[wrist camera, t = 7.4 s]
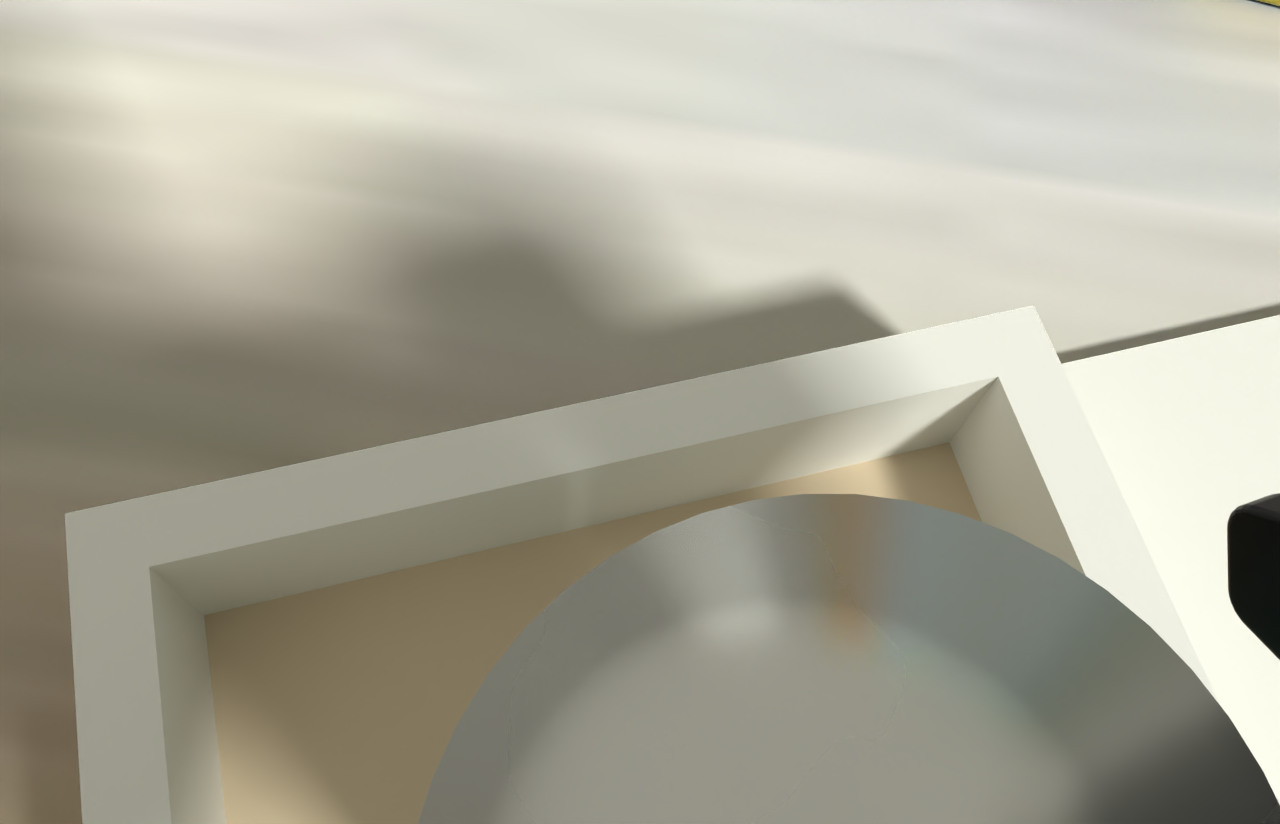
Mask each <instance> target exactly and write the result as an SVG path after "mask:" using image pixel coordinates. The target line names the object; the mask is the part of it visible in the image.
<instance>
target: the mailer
mask: <svg viewBox="0 0 1280 824" xmlns="http://www.w3.org/2000/svg"><path fill="white" fill-rule="evenodd" d="M1277 493H1280V315H1276V316H1272V317H1268V318H1263V319H1259V320H1254V321H1250V322H1245V323H1241V324H1236V325H1232V326H1227V327H1223V328H1219V329H1214V330H1210V331H1205V332H1201V333H1196V334H1192V335H1187V336H1183V337H1178V338H1174V339H1170V340H1165V341H1161V342H1156V343H1152V344H1147V345H1143V346H1138V347H1134V348H1129V349H1125V350H1121V351H1116V352H1112V353H1107V354H1103V355H1098V356H1094V357H1089V358H1085V359H1080V360H1076V361H1071V362H1067V363H1063V364H1061V362H1060V360H1059V358H1058V356H1057V353H1056V351H1055V349H1054V347H1053V345H1052V343H1051V341H1050V338H1049V336H1048V334H1047V332H1046V330H1045V328H1044V326H1043V324H1042V321H1041V319H1040V317H1039V315H1038V313H1037V311H1036V309H1035V306H1034V305H1032V306H1027V307H1023V308H1018V309H1013V310H1009V311H1004V312H999V313H995V314H990V315H985V316H981V317H976V318H971V319H967V320H962V321H957V322H953V323H948V324H943V325H939V326H934V327H930V328H925V329H920V330H916V331H911V332H906V333H902V334H897V335H892V336H888V337H883V338H878V339H874V340H869V341H864V342H860V343H855V344H850V345H846V346H841V347H836V348H832V349H827V350H822V351H818V352H813V353H809V354H804V355H799V356H795V357H790V358H785V359H781V360H776V361H771V362H767V363H762V364H757V365H753V366H748V367H743V368H739V369H734V370H729V371H725V372H720V373H715V374H711V375H706V376H701V377H697V378H692V379H688V380H683V381H678V382H674V383H669V384H664V385H660V386H655V387H650V388H646V389H641V390H636V391H632V392H627V393H622V394H618V395H613V396H608V397H604V398H599V399H594V400H590V401H585V402H580V403H576V404H571V405H567V406H562V407H557V408H553V409H548V410H543V411H539V412H534V413H529V414H525V415H520V416H515V417H511V418H506V419H501V420H497V421H492V422H487V423H483V424H478V425H473V426H469V427H464V428H459V429H455V430H450V431H445V432H441V433H436V434H432V435H427V436H422V437H418V438H413V439H408V440H404V441H399V442H394V443H390V444H385V445H380V446H376V447H371V448H366V449H362V450H357V451H352V452H348V453H343V454H338V455H334V456H329V457H324V458H320V459H315V460H311V461H306V462H301V463H297V464H292V465H287V466H283V467H278V468H273V469H269V470H264V471H259V472H255V473H250V474H245V475H241V476H236V477H231V478H227V479H222V480H217V481H213V482H208V483H203V484H199V485H194V486H190V487H185V488H180V489H176V490H171V491H166V492H162V493H157V494H152V495H148V496H143V497H138V498H134V499H129V500H124V501H120V502H115V503H110V504H106V505H101V506H96V507H92V508H87V509H82V510H78V511H73V512H69V513H65V530H66V548H67V565H68V583H69V600H70V618H71V635H72V653H73V670H74V688H75V705H76V723H77V740H78V758H79V775H80V793H81V810H82V824H418V822H419V819H420V815H421V812H422V809H423V806H424V803H425V800H426V797H427V793H428V790H429V787H430V784H431V781H432V778H433V776H434V774H435V772H436V769H437V767H438V765H439V763H440V761H441V759H442V756H443V754H444V752H445V750H446V748H447V745H448V743H449V741H450V739H451V737H452V734H453V732H454V730H455V728H456V726H457V724H458V722H459V720H460V719H461V717H462V715H463V714H464V712H465V711H466V709H467V707H468V706H469V704H470V702H471V701H472V699H473V698H474V696H475V694H476V693H477V691H478V689H479V688H480V686H481V685H482V683H483V681H484V680H485V678H486V677H487V675H488V673H489V672H490V671H491V669H492V668H493V667H494V666H495V664H496V663H497V662H498V661H499V660H500V658H501V657H502V656H503V655H504V653H505V652H506V651H507V650H508V648H509V647H510V646H511V645H512V643H513V642H514V641H515V640H516V638H517V637H518V636H519V635H520V633H521V632H522V631H523V630H524V629H525V627H527V626H528V625H529V624H530V623H531V622H532V621H533V620H534V619H535V618H536V617H537V616H538V615H539V614H540V613H541V612H542V611H543V610H544V609H545V608H546V607H547V606H548V605H549V604H550V603H552V602H553V601H554V600H555V599H556V598H557V597H558V596H559V595H560V594H561V593H562V592H563V591H564V590H565V589H567V588H568V587H569V586H571V585H572V584H573V583H575V582H576V581H577V580H579V579H580V578H581V577H583V576H584V575H585V574H587V573H588V572H590V571H591V570H592V569H594V568H595V567H596V566H598V565H599V564H600V563H602V562H603V561H604V560H606V559H607V558H609V557H610V556H612V555H614V554H616V553H618V552H619V551H621V550H623V549H625V548H627V547H628V546H630V545H632V544H634V543H636V542H637V541H639V540H641V539H643V538H645V537H646V536H648V535H650V534H652V533H654V532H656V531H658V530H661V529H663V528H666V527H668V526H671V525H673V524H676V523H678V522H681V521H683V520H686V519H689V518H691V517H694V516H696V515H699V514H701V513H704V512H708V511H712V510H716V509H720V508H724V507H728V506H732V505H736V504H739V503H743V502H747V501H751V500H758V499H766V498H774V497H782V496H790V495H799V494H859V495H867V496H875V497H883V498H891V499H899V500H907V501H911V502H915V503H919V504H923V505H927V506H931V507H935V508H939V509H943V510H947V511H951V512H955V513H959V514H962V515H964V516H967V517H970V518H972V519H975V520H977V521H980V522H983V523H985V524H988V525H991V526H993V527H996V528H999V529H1001V530H1004V531H1007V532H1009V533H1011V534H1013V535H1015V536H1017V537H1019V538H1021V539H1023V540H1025V541H1027V542H1029V543H1031V544H1033V545H1034V546H1036V547H1038V548H1040V549H1042V550H1044V551H1046V552H1048V553H1050V554H1052V555H1054V556H1056V557H1058V558H1059V559H1061V560H1062V561H1064V562H1065V563H1067V564H1068V565H1070V566H1071V567H1073V568H1074V569H1076V570H1077V571H1079V572H1081V573H1082V574H1084V575H1085V576H1087V577H1088V578H1090V579H1091V580H1093V581H1094V582H1096V583H1097V584H1099V585H1100V586H1102V587H1103V588H1105V589H1106V590H1107V591H1108V592H1110V593H1111V594H1112V595H1113V596H1114V597H1116V598H1117V599H1118V600H1119V601H1120V602H1122V603H1123V604H1124V605H1125V606H1126V607H1128V608H1129V609H1130V610H1131V611H1132V612H1134V613H1135V614H1136V615H1137V616H1138V617H1140V618H1141V619H1142V620H1143V621H1144V622H1146V623H1147V624H1148V625H1149V626H1150V627H1151V628H1152V629H1153V630H1154V631H1155V632H1156V633H1157V634H1158V635H1159V636H1160V637H1161V638H1162V639H1163V640H1164V641H1165V642H1166V643H1167V644H1168V645H1169V646H1170V647H1171V648H1172V649H1173V650H1174V651H1175V652H1176V653H1177V655H1178V656H1179V657H1180V658H1181V659H1182V660H1183V661H1184V662H1185V663H1186V664H1187V665H1188V666H1189V667H1190V668H1191V669H1192V670H1193V671H1194V673H1195V674H1196V675H1197V677H1198V678H1199V679H1200V680H1201V682H1202V683H1203V684H1204V685H1205V687H1206V688H1207V689H1208V691H1209V692H1210V693H1211V694H1212V696H1213V697H1214V698H1215V700H1216V701H1217V702H1218V703H1219V705H1220V706H1221V707H1222V708H1223V710H1224V711H1225V712H1226V714H1227V715H1228V716H1229V717H1230V719H1231V721H1232V722H1233V724H1234V725H1235V727H1236V729H1237V730H1238V732H1239V733H1240V735H1241V736H1242V738H1243V740H1244V741H1245V743H1246V744H1247V746H1248V748H1249V749H1250V751H1251V752H1252V754H1253V756H1254V757H1255V759H1256V760H1257V762H1258V764H1259V765H1260V767H1261V768H1262V770H1263V772H1264V774H1265V776H1266V778H1267V780H1268V782H1269V784H1270V786H1271V788H1272V790H1273V792H1274V794H1275V796H1276V798H1277V800H1278V802H1279V804H1280V660H1279V659H1278V658H1277V657H1276V656H1275V655H1274V654H1273V653H1272V652H1271V651H1270V650H1269V649H1268V648H1267V647H1266V646H1265V645H1264V644H1263V643H1262V642H1261V641H1260V640H1259V639H1258V638H1257V637H1256V635H1255V634H1254V633H1253V632H1252V631H1251V630H1250V629H1249V628H1248V627H1247V626H1246V625H1245V624H1244V623H1243V622H1242V621H1241V620H1240V618H1239V617H1238V615H1237V614H1236V612H1235V610H1234V608H1233V606H1232V604H1231V601H1230V598H1229V593H1228V558H1227V523H1228V519H1229V517H1230V514H1231V513H1232V511H1233V510H1235V509H1236V508H1237V507H1238V506H1240V505H1243V504H1246V503H1249V502H1251V501H1254V500H1257V499H1260V498H1263V497H1265V496H1268V495H1271V494H1277Z"/></svg>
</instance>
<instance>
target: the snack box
mask: <svg viewBox="0 0 1280 824" xmlns="http://www.w3.org/2000/svg"><path fill="white" fill-rule="evenodd" d="M1257 1H1261V2H1265V3H1268V4H1272V5H1276V6H1280V0H1257Z"/></svg>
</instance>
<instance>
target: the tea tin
mask: <svg viewBox="0 0 1280 824" xmlns="http://www.w3.org/2000/svg"><path fill="white" fill-rule="evenodd" d="M418 824H1280V804H1279V802H1278V800H1277V798H1276V796H1275V794H1274V792H1273V790H1272V788H1271V786H1270V784H1269V782H1268V780H1267V778H1266V776H1265V774H1264V772H1263V770H1262V768H1261V767H1260V765H1259V764H1258V762H1257V760H1256V759H1255V757H1254V756H1253V754H1252V752H1251V751H1250V749H1249V748H1248V746H1247V744H1246V743H1245V741H1244V740H1243V738H1242V736H1241V735H1240V733H1239V732H1238V730H1237V729H1236V727H1235V725H1234V724H1233V722H1232V721H1231V719H1230V717H1229V716H1228V715H1227V714H1226V712H1225V711H1224V710H1223V708H1222V707H1221V706H1220V705H1219V703H1218V702H1217V701H1216V700H1215V698H1214V697H1213V696H1212V694H1211V693H1210V692H1209V691H1208V689H1207V688H1206V687H1205V685H1204V684H1203V683H1202V682H1201V680H1200V679H1199V678H1198V677H1197V675H1196V674H1195V673H1194V671H1193V670H1192V669H1191V668H1190V667H1189V666H1188V665H1187V664H1186V663H1185V662H1184V661H1183V660H1182V659H1181V658H1180V657H1179V656H1178V655H1177V653H1176V652H1175V651H1174V650H1173V649H1172V648H1171V647H1170V646H1169V645H1168V644H1167V643H1166V642H1165V641H1164V640H1163V639H1162V638H1161V637H1160V636H1159V635H1158V634H1157V633H1156V632H1155V631H1154V630H1153V629H1152V628H1151V627H1150V626H1149V625H1148V624H1147V623H1146V622H1144V621H1143V620H1142V619H1141V618H1140V617H1138V616H1137V615H1136V614H1135V613H1134V612H1132V611H1131V610H1130V609H1129V608H1128V607H1126V606H1125V605H1124V604H1123V603H1122V602H1120V601H1119V600H1118V599H1117V598H1116V597H1114V596H1113V595H1112V594H1111V593H1110V592H1108V591H1107V590H1106V589H1105V588H1103V587H1102V586H1100V585H1099V584H1097V583H1096V582H1094V581H1093V580H1091V579H1090V578H1088V577H1087V576H1085V575H1084V574H1082V573H1081V572H1079V571H1077V570H1076V569H1074V568H1073V567H1071V566H1070V565H1068V564H1067V563H1065V562H1064V561H1062V560H1061V559H1059V558H1058V557H1056V556H1054V555H1052V554H1050V553H1048V552H1046V551H1044V550H1042V549H1040V548H1038V547H1036V546H1034V545H1033V544H1031V543H1029V542H1027V541H1025V540H1023V539H1021V538H1019V537H1017V536H1015V535H1013V534H1011V533H1009V532H1007V531H1004V530H1001V529H999V528H996V527H993V526H991V525H988V524H985V523H983V522H980V521H977V520H975V519H972V518H970V517H967V516H964V515H962V514H959V513H955V512H951V511H947V510H943V509H939V508H935V507H931V506H927V505H923V504H919V503H915V502H911V501H907V500H899V499H891V498H883V497H875V496H867V495H859V494H799V495H790V496H782V497H774V498H766V499H758V500H751V501H747V502H743V503H739V504H736V505H732V506H728V507H724V508H720V509H716V510H712V511H708V512H704V513H701V514H699V515H696V516H694V517H691V518H689V519H686V520H683V521H681V522H678V523H676V524H673V525H671V526H668V527H666V528H663V529H661V530H658V531H656V532H654V533H652V534H650V535H648V536H646V537H645V538H643V539H641V540H639V541H637V542H636V543H634V544H632V545H630V546H628V547H627V548H625V549H623V550H621V551H619V552H618V553H616V554H614V555H612V556H610V557H609V558H607V559H606V560H604V561H603V562H602V563H600V564H599V565H598V566H596V567H595V568H594V569H592V570H591V571H590V572H588V573H587V574H585V575H584V576H583V577H581V578H580V579H579V580H577V581H576V582H575V583H573V584H572V585H571V586H569V587H568V588H567V589H565V590H564V591H563V592H562V593H561V594H560V595H559V596H558V597H557V598H556V599H555V600H554V601H553V602H552V603H550V604H549V605H548V606H547V607H546V608H545V609H544V610H543V611H542V612H541V613H540V614H539V615H538V616H537V617H536V618H535V619H534V620H533V621H532V622H531V623H530V624H529V625H528V626H527V627H525V629H524V630H523V631H522V632H521V633H520V635H519V636H518V637H517V638H516V640H515V641H514V642H513V643H512V645H511V646H510V647H509V648H508V650H507V651H506V652H505V653H504V655H503V656H502V657H501V658H500V660H499V661H498V662H497V663H496V664H495V666H494V667H493V668H492V669H491V671H490V672H489V673H488V675H487V677H486V678H485V680H484V681H483V683H482V685H481V686H480V688H479V689H478V691H477V693H476V694H475V696H474V698H473V699H472V701H471V702H470V704H469V706H468V707H467V709H466V711H465V712H464V714H463V715H462V717H461V719H460V720H459V722H458V724H457V726H456V728H455V730H454V732H453V734H452V737H451V739H450V741H449V743H448V745H447V748H446V750H445V752H444V754H443V756H442V759H441V761H440V763H439V765H438V767H437V769H436V772H435V774H434V776H433V778H432V781H431V784H430V787H429V790H428V793H427V797H426V800H425V803H424V806H423V809H422V812H421V815H420V819H419V822H418Z"/></svg>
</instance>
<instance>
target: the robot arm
mask: <svg viewBox="0 0 1280 824" xmlns="http://www.w3.org/2000/svg"><path fill="white" fill-rule="evenodd" d="M1227 558H1228V593H1229V598H1230V601H1231V604H1232V606H1233V608H1234V610H1235V612H1236V614H1237V615H1238V617H1239V618H1240V620H1241V621H1242V622H1243V623H1244V624H1245V625H1246V626H1247V627H1248V628H1249V629H1250V630H1251V631H1252V632H1253V633H1254V634H1255V635H1256V637H1257V638H1258V639H1259V640H1260V641H1261V642H1262V643H1263V644H1264V645H1265V646H1266V647H1267V648H1268V649H1269V650H1270V651H1271V652H1272V653H1273V654H1274V655H1275V656H1276V657H1277V658H1278V659H1279V660H1280V493H1277V494H1271V495H1268V496H1265V497H1263V498H1260V499H1257V500H1254V501H1251V502H1249V503H1246V504H1243V505H1240V506H1238V507H1237V508H1236V509H1235V510H1233V511H1232V513H1231V514H1230V517H1229V519H1228V523H1227Z"/></svg>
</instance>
